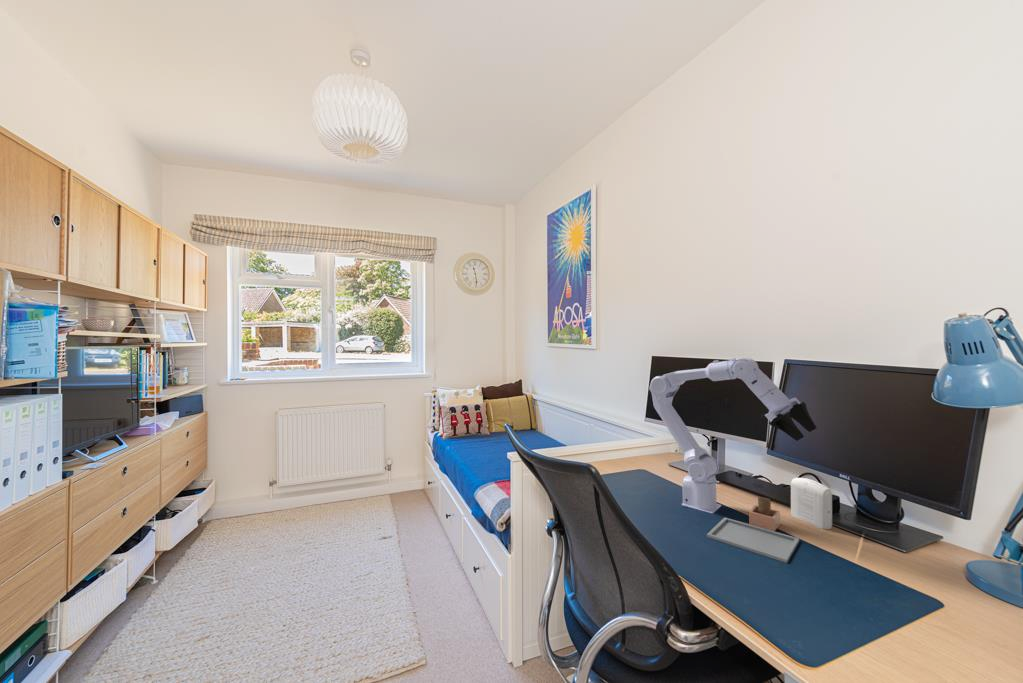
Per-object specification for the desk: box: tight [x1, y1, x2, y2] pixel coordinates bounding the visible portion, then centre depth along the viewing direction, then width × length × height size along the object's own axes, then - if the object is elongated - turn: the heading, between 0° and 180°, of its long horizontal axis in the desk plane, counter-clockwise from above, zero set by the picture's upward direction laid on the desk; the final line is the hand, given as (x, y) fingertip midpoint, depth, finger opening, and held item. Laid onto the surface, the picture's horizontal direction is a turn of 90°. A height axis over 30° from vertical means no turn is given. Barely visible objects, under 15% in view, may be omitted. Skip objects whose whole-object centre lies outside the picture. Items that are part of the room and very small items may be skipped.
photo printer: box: [790, 477, 833, 530], centre depth 114 cm, size 10×4×12 cm, turn 17°
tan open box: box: [748, 504, 781, 532], centre depth 113 cm, size 6×6×4 cm
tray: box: [706, 517, 800, 564], centre depth 105 cm, size 18×14×1 cm
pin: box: [757, 496, 772, 517], centre depth 113 cm, size 3×3×7 cm
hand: (807, 434), depth 106 cm, fingers open, 7 cm apart
